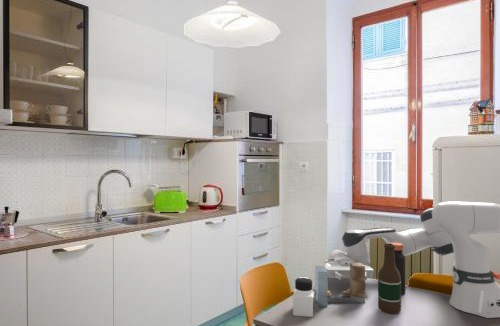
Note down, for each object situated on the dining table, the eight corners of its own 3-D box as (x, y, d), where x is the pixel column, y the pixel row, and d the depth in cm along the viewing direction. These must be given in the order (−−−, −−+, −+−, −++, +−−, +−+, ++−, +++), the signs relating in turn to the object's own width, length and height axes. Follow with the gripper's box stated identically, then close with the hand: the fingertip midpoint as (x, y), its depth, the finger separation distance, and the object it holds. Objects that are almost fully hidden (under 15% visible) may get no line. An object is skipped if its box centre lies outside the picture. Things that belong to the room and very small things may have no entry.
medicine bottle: (313, 317, 117) (313, 283, 117) (292, 315, 118) (292, 281, 118) (313, 308, 124) (313, 276, 124) (294, 307, 125) (294, 275, 125)
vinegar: (384, 289, 142) (384, 242, 142) (398, 288, 144) (398, 241, 144) (394, 295, 136) (394, 246, 136) (409, 294, 138) (409, 245, 137)
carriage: (361, 293, 133) (361, 262, 133) (365, 297, 128) (364, 266, 128) (341, 293, 133) (341, 262, 133) (344, 297, 128) (344, 266, 128)
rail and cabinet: (362, 299, 132) (362, 266, 132) (368, 306, 125) (367, 272, 125) (314, 298, 133) (314, 265, 133) (318, 306, 126) (318, 271, 126)
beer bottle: (390, 316, 118) (390, 247, 117) (373, 308, 124) (373, 243, 124) (406, 312, 121) (405, 245, 121) (388, 304, 128) (388, 240, 128)
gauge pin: (329, 294, 132) (329, 290, 132) (330, 295, 130) (330, 291, 130) (316, 294, 132) (316, 290, 132) (317, 295, 130) (317, 291, 130)
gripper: (368, 274, 148) (379, 285, 134) (321, 274, 149) (327, 285, 135) (368, 259, 148) (379, 270, 134) (321, 259, 149) (327, 269, 135)
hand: (353, 277), depth 135 cm, fingers open, 8 cm apart
